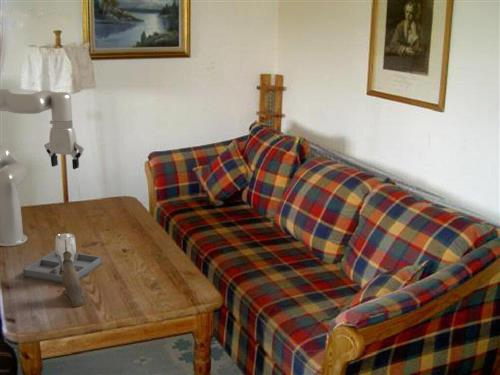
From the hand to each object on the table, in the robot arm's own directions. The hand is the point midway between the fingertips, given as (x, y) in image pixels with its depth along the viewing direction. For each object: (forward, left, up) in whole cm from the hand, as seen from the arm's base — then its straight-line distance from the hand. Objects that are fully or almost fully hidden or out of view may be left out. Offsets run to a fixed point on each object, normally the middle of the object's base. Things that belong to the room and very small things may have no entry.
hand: (65, 167), depth 254 cm
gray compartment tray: (+12, -22, -33) cm, 42 cm away
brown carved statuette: (+29, -41, -34) cm, 60 cm away
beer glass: (+17, -27, -32) cm, 45 cm away
